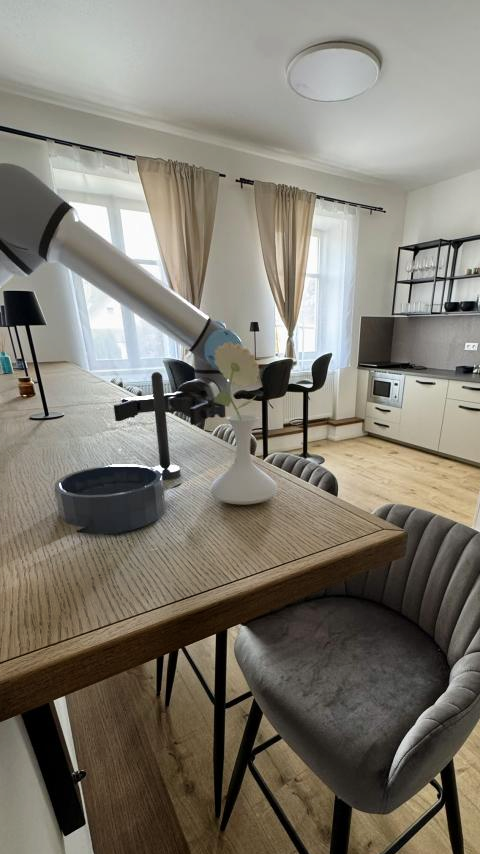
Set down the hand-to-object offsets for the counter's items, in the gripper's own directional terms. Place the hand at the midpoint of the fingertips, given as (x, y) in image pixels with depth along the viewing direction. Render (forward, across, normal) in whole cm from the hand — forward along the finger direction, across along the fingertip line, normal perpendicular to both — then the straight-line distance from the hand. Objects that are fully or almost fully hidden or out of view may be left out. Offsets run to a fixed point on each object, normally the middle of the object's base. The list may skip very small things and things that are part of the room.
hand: (153, 415), depth 69 cm
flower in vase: (+1, -15, -13) cm, 20 cm away
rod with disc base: (-2, 0, -13) cm, 13 cm away
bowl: (+13, +1, -13) cm, 19 cm away
